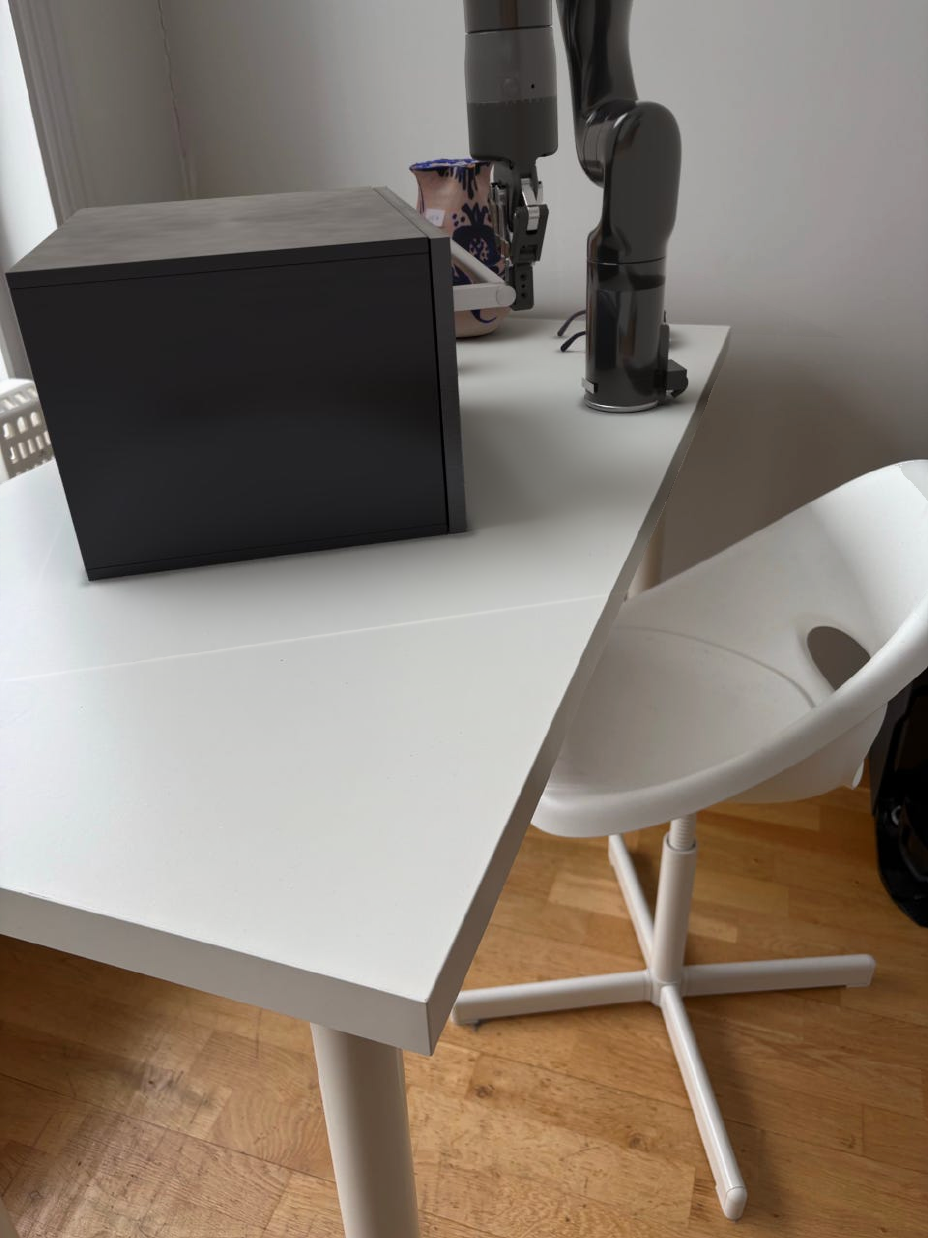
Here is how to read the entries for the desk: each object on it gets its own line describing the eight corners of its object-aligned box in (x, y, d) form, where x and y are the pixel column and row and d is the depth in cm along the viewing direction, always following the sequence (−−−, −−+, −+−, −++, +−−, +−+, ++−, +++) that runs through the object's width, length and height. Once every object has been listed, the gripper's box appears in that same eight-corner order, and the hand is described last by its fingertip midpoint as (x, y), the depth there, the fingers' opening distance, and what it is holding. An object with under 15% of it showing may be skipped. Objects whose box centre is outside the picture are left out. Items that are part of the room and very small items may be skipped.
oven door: (454, 399, 126) (441, 181, 113) (534, 522, 91) (528, 229, 79) (392, 406, 124) (372, 187, 112) (450, 533, 90) (430, 238, 77)
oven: (390, 407, 124) (370, 185, 112) (447, 535, 90) (427, 236, 77) (132, 436, 120) (80, 208, 107) (88, 582, 86) (4, 272, 73)
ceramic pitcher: (439, 352, 147) (427, 169, 134) (383, 326, 163) (368, 161, 151) (539, 333, 153) (536, 158, 141) (475, 310, 170) (468, 151, 158)
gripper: (578, 91, 76) (581, 319, 84) (534, 88, 87) (541, 289, 96) (483, 100, 75) (496, 329, 83) (452, 95, 86) (466, 298, 95)
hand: (520, 308), depth 89 cm, fingers closed
